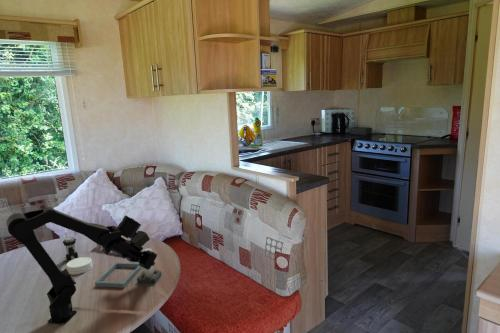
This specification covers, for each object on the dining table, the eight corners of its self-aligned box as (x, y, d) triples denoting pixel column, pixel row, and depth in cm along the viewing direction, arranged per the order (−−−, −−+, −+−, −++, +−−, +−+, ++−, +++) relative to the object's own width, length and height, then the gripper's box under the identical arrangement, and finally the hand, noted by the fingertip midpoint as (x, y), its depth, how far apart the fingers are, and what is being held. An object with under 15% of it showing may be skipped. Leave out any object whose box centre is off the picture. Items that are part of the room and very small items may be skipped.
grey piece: (154, 287, 132) (153, 281, 132) (134, 287, 133) (133, 280, 133) (164, 274, 142) (163, 268, 141) (145, 273, 143) (145, 268, 142)
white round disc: (80, 276, 143) (78, 268, 142) (61, 273, 146) (60, 265, 146) (97, 265, 152) (96, 257, 152) (80, 262, 156) (78, 255, 155)
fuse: (152, 281, 135) (149, 253, 133) (142, 281, 136) (139, 253, 133) (156, 276, 139) (153, 248, 137) (146, 275, 140) (143, 248, 137)
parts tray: (124, 289, 132) (124, 283, 131) (95, 288, 134) (94, 282, 133) (143, 268, 147) (142, 263, 147) (116, 267, 149) (116, 262, 149)
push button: (63, 263, 155) (60, 243, 152) (61, 259, 159) (58, 239, 157) (79, 259, 159) (76, 238, 156) (77, 255, 163) (74, 235, 161)
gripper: (150, 233, 124) (176, 250, 135) (120, 222, 135) (147, 239, 146) (133, 261, 120) (161, 277, 130) (104, 248, 131) (133, 263, 142)
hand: (150, 262), depth 137 cm, fingers closed on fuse, 4 cm apart
